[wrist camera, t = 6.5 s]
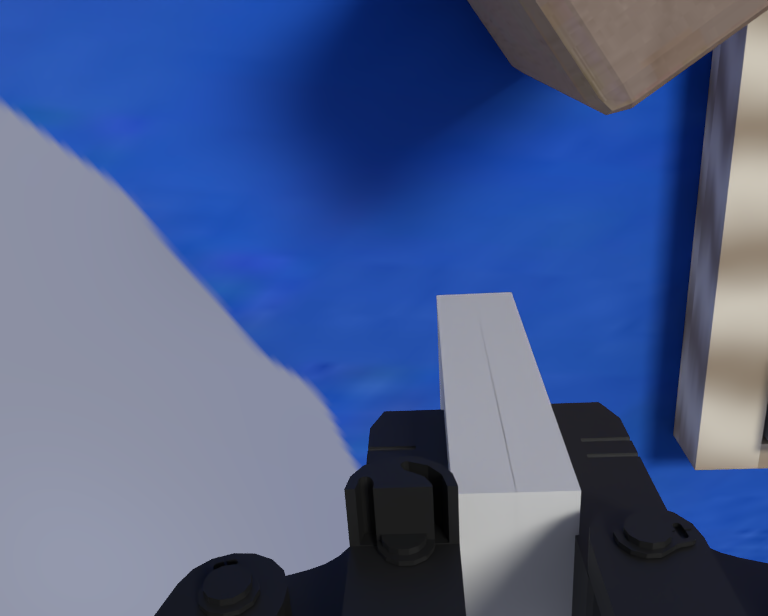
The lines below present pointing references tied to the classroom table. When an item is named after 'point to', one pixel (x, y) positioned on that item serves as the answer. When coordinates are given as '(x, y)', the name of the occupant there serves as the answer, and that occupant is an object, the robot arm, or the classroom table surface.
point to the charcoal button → (766, 425)
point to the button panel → (729, 268)
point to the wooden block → (611, 42)
